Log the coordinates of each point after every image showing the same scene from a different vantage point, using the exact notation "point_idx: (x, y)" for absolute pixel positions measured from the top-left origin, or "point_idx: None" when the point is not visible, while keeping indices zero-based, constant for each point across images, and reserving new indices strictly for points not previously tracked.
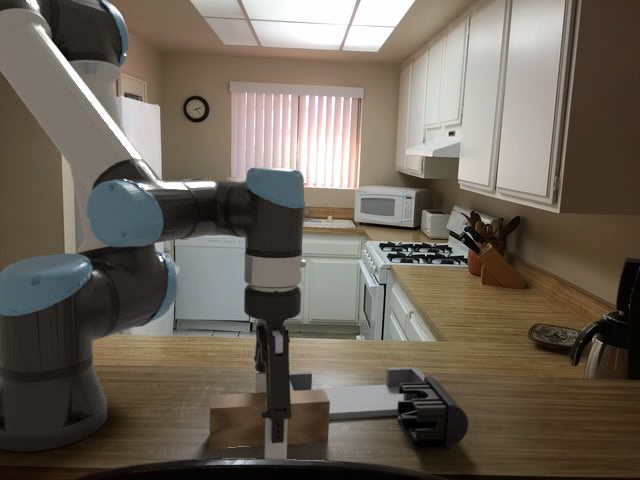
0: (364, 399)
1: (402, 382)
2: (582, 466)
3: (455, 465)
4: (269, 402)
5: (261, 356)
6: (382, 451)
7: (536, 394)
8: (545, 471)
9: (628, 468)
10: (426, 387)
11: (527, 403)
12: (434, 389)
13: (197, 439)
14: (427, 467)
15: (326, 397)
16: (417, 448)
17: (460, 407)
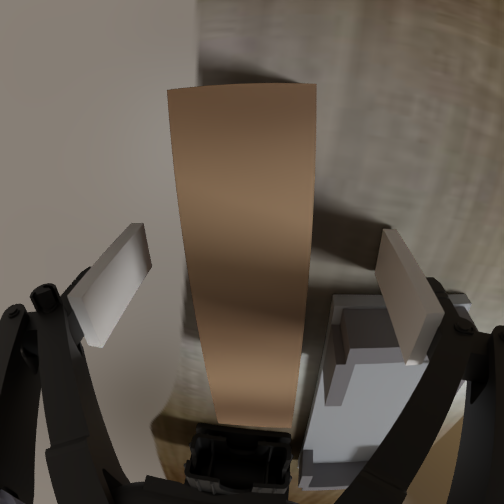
0: (355, 423)
1: None
2: (175, 476)
3: (166, 432)
4: (12, 334)
5: (60, 465)
6: (195, 397)
7: (311, 500)
8: (164, 463)
9: None
10: None
11: (295, 495)
12: None
13: (280, 49)
14: (158, 415)
15: (240, 423)
16: (197, 426)
17: None
